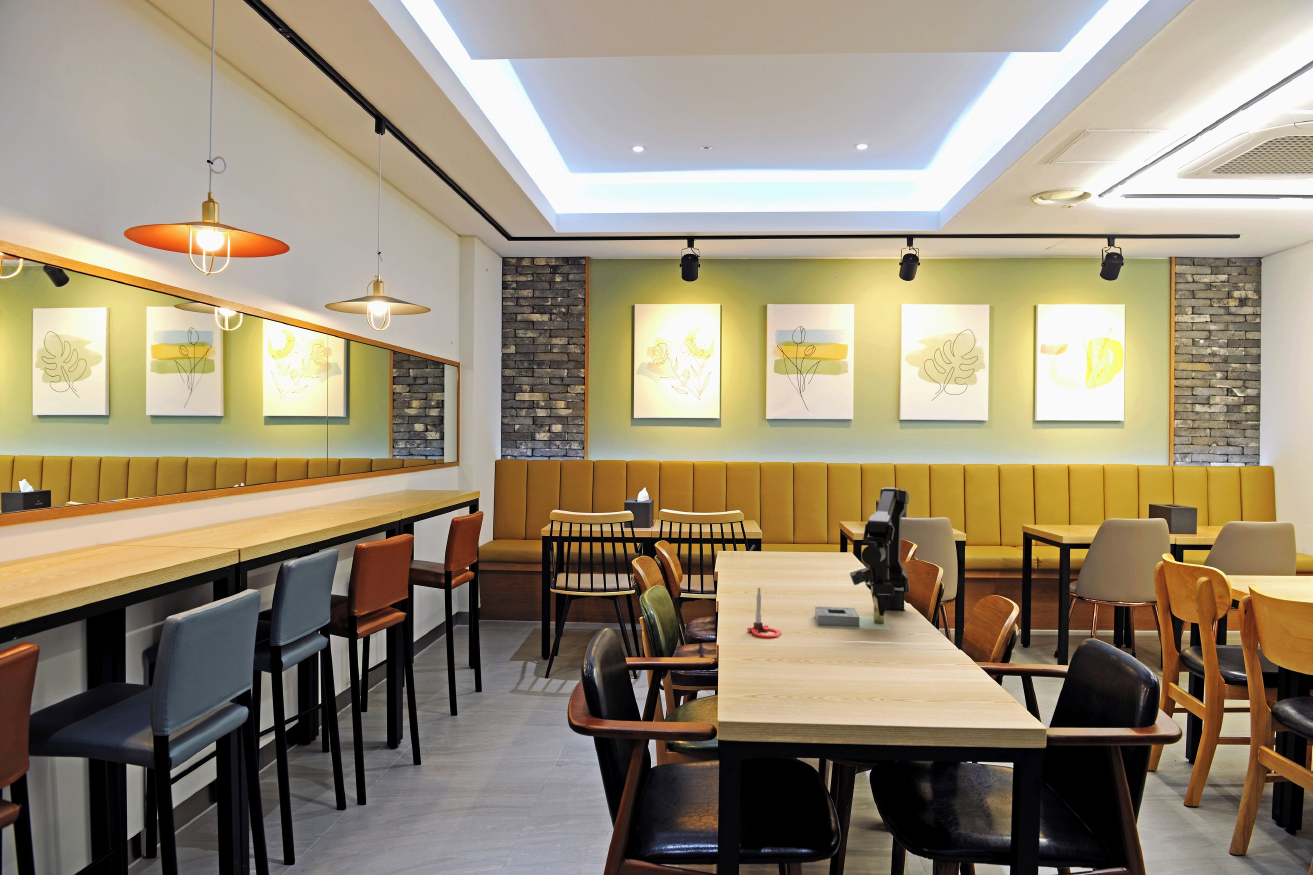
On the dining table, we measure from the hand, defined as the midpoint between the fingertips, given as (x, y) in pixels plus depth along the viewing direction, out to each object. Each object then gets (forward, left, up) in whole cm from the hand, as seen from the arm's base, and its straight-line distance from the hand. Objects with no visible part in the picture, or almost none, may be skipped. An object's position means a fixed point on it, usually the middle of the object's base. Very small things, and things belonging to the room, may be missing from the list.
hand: (878, 611), depth 222 cm
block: (+13, 0, -3) cm, 13 cm away
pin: (0, 0, -3) cm, 3 cm away
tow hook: (+34, +17, -4) cm, 38 cm away
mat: (+8, 0, -4) cm, 9 cm away
